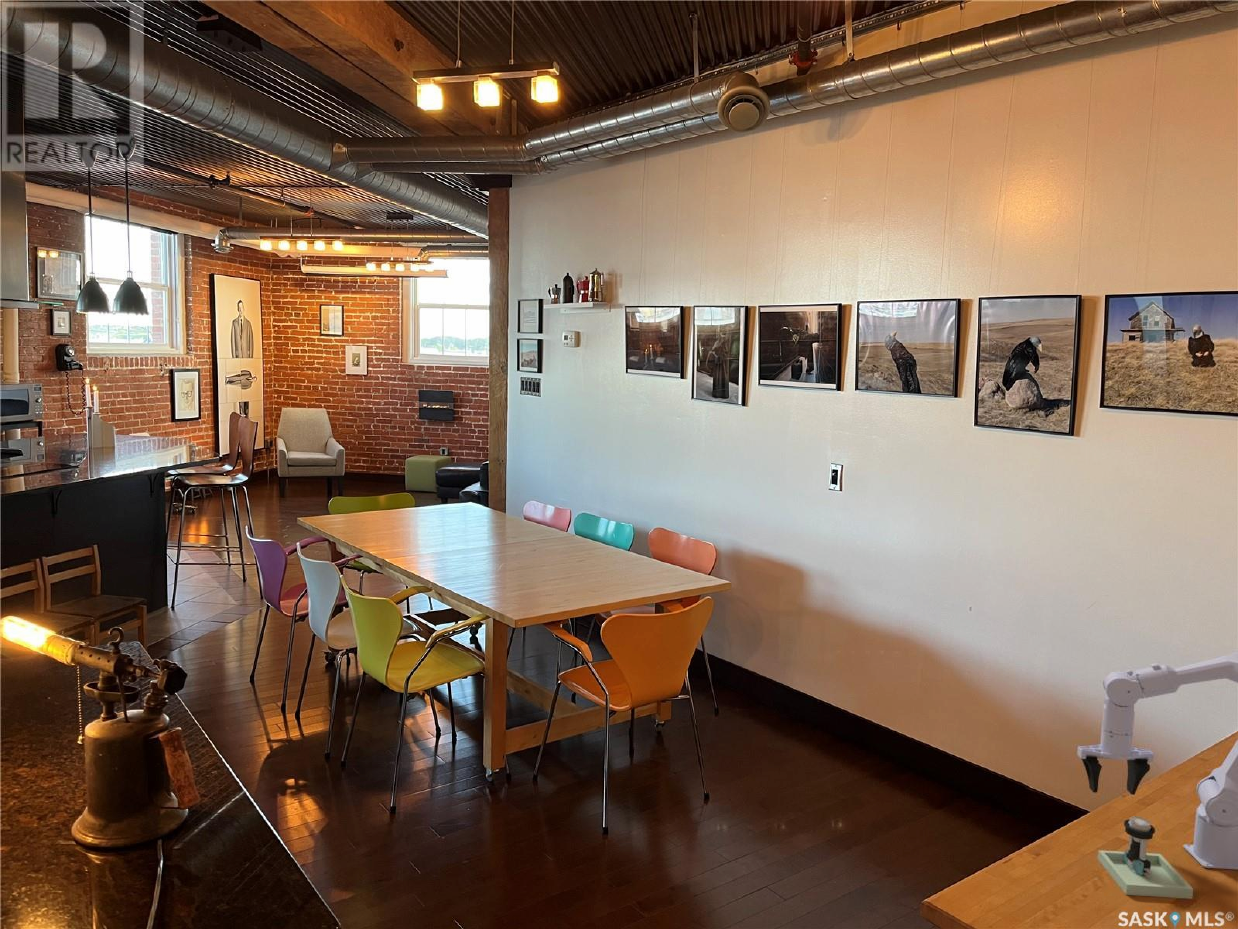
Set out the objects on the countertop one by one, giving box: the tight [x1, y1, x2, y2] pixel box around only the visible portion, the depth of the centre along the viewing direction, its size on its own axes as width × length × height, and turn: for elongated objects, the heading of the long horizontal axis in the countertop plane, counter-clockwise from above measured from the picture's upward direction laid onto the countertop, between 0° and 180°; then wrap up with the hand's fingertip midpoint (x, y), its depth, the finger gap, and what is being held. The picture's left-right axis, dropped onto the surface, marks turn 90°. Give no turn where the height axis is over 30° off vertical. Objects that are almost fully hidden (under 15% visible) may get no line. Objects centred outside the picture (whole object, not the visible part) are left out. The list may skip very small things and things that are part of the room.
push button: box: [1123, 816, 1156, 878], centre depth 175 cm, size 7×5×10 cm
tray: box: [1097, 849, 1194, 900], centre depth 174 cm, size 12×12×2 cm
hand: (1112, 791), depth 187 cm, fingers open, 7 cm apart
